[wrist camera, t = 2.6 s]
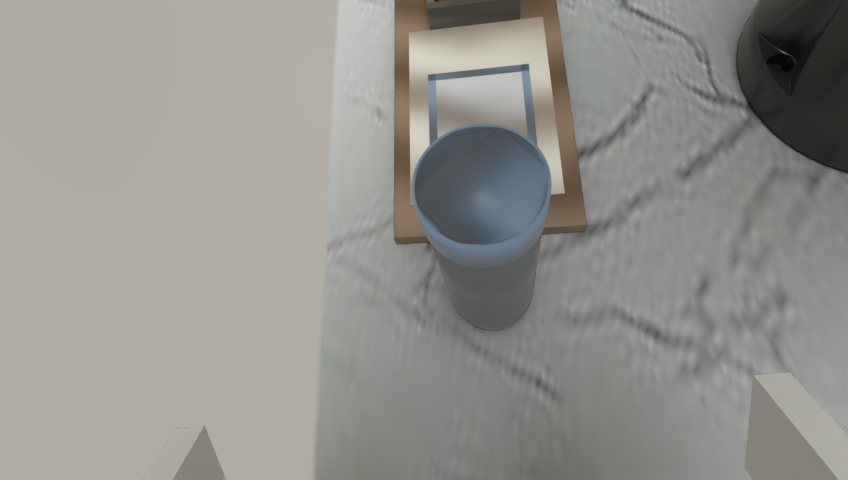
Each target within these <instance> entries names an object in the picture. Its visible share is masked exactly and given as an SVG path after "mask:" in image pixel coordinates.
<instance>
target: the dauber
mask: <svg viewBox="0 0 848 480" xmlns="http://www.w3.org/2000/svg"><path fill="white" fill-rule="evenodd" d="M551 187H552V182H551V173H550V168H549V166H548V163H547V160H546V158H545V157H544V155H543V153H542V152H541V150H540V149H539V148H538V146H537V145H536V144H535V143H534V142H533V141H532V140H530V139H529V138H528V137H527V136H525V135H524V134H522V133H520V132H518V131H516V130H514V129H512V128H509V127H506V126H503V125H497V124H489V123H479V124H470V125H466V126H462V127H458V128H456V129H453V130H451V131H449V132H447V133H445V134H443V135H442V136H441V137H439V138H438V139H436V140H435V141H434V142H433V143H432V144H431V145H430V146H429V147H428V148H427V149H426V150H425V151H424V153H423V154H422V156H421V157H420V159H419V161H418V163H417V165H416V167H415V170H414V173H413V178H412V187H411V191H412V199H413V203H414V206H415V209H416V212H417V214H418V217H419V219H420V222H421V225H422V227H423V230H424V232H425V235H426V236H427V238H428V240H429V242H430V243H431V244H432V246H433V249H434V252H435V254H436V257H437V260H438V262H439V265H440V268H441V270H442V273H443V276H444V278H445V281H446V284H447V286H448V289H449V292H450V295H451V297H452V300H453V302H454V305H455V307H456V309H457V310H458V312H459V313H460V314H461V315H462V316H463V317H464V318H465V319H466V320H468V321H469V322H470V323H471V324H473V325H475V326H476V327H479V328H481V329H485V330H500V329H504V328H506V327H509V326H511V325H512V324H514V323H515V322H516V321H517V320H518V319H519V318H520V317H521V316H522V315H523V314H524V312H525V311H526V310H527V308H528V306H529V304H530V302H531V298H532V293H533V286H534V280H535V273H536V267H537V260H538V253H539V247H540V240H541V234H542V231H543V229H544V227H545V223H546V219H547V214H548V208H549V202H550V195H551Z"/></svg>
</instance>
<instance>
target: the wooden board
mask: <svg viewBox="0 0 848 480" xmlns="http://www.w3.org/2000/svg"><path fill="white" fill-rule="evenodd" d="M479 123H489V124H497V125H503V126H506V127H509V128H512V129H514V130H516V131H518V132H520V133H522V134H524V135H525V136H527V137H528V138H529V139H530V140H532V141H533V142H534V143H535V144H536V145H537V146H538V148H539V149H540V150H541V152H542V153H543V155H544V157H545V158H546V160H547V163H548V166H549V168H550V173H551V182H552V187H551V195H550V202H549V208H548V214H547V219H546V223H545V227H544V229H543V231H542V234H553V233H567V232H582V231H585V229H586V226H587V222H586V215H585V208H584V200H583V193H582V186H581V179H580V171H579V164H578V157H577V150H576V142H575V135H574V128H573V120H572V113H571V106H570V99H569V91H568V84H567V77H566V69H565V62H564V55H563V48H562V40H561V33H560V26H559V19H558V11H557V4H556V0H447V1H439V0H395V146H394V239H395V241H396V242H397V244H407V243H421V242H429V240H428V238H427V236H426V235H425V232H424V230H423V227H422V225H421V222H420V219H419V217H418V214H417V212H416V209H415V206H414V203H413V199H412V191H411V187H412V178H413V173H414V170H415V167H416V165H417V163H418V161H419V159H420V157H421V156H422V154H423V153H424V151H425V150H426V149H427V148H428V147H429V146H430V145H431V144H432V143H433V142H434V141H435V140H436V139H438V138H439V137H441V136H442V135H443V134H445V133H447V132H449V131H451V130H453V129H456V128H458V127H462V126H466V125H470V124H479Z"/></svg>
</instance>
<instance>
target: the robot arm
mask: <svg viewBox="0 0 848 480" xmlns="http://www.w3.org/2000/svg"><path fill="white" fill-rule="evenodd" d="M737 66H738V73H739V78H740V81H741V84H742V87H743V90H744V92H745V94H746V96H747V98H748V100H749V102H750V104H751V105H752V107H753V108H754V110H755V111H756V113H757V114H758V115H759V116H760V118H761V119H762V120H763V121H764V122H765V123H766V124H767V126H768V127H769V128H770V129H772V130H773V131H774V132H775V133H776V134H777V135H778V136H779V137H781V138H782V139H783V140H784V141H786V142H787V143H789V144H790V145H791V146H793V147H794V148H796V149H797V150H799V151H801V152H802V153H804V154H806V155H808V156H810V157H811V158H814V159H816V160H818V161H820V162H822V163H824V164H827V165H829V166H832V167H835V168H837V169H840V170H843V171H847V172H848V0H759V2H758V3H757V5H756V7H755V9H754V10H753V12H752V14H751V16H750V18H749V19H748V21H747V23H746V25H745V27H744V29H743V31H742V34H741V37H740V40H739V44H738V51H737ZM745 468H746V470H747V471H748V473H749V475H750V476H751V478H752V479H753V480H848V435H847V434H846V433H845V432H844V431H843V430H842V429H841V428H840V426H839V425H838V424H837V423H836V422H835V421H834V420H833V419H832V418H831V417H830V416H829V414H828V413H827V412H826V411H825V410H824V409H823V408H822V407H821V406H820V405H819V404H818V403H817V401H816V400H815V399H814V398H813V397H812V396H811V395H810V394H809V393H808V392H807V391H806V389H805V388H804V387H803V386H802V385H801V384H800V383H799V382H798V381H797V380H796V379H795V378H794V376H793V375H792V374H791V373H790V372H784V373H773V374H762V375H753V386H752V396H751V406H750V417H749V427H748V437H747V447H746V458H745ZM142 480H226V478H225V476H224V474H223V471H222V468H221V466H220V463H219V461H218V459H217V456H216V453H215V451H214V448H213V446H212V443H211V441H210V438H209V436H208V433H207V431H206V428H205V426H196V427H185V428H176V429H175V430H174V432H173V433H172V435H171V437H170V438H169V440H168V441H167V443H166V444H165V446H164V447H163V449H162V450H161V452H160V453H159V455H158V456H157V458H156V459H155V461H154V462H153V464H152V466H151V467H150V469H149V470H148V472H147V473H146V475H145V476H144V478H143V479H142Z"/></svg>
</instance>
